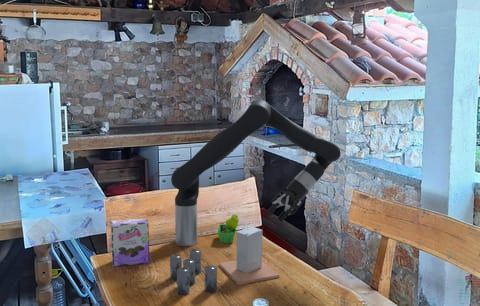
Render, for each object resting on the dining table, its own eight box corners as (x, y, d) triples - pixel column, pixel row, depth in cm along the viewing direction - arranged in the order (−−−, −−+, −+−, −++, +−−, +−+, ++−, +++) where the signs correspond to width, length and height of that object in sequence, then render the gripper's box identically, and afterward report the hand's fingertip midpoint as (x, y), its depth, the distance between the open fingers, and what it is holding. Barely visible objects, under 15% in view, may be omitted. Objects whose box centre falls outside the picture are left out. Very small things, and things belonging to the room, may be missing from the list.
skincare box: (251, 263, 181) (251, 225, 178) (262, 267, 177) (263, 229, 174) (235, 269, 175) (235, 230, 172) (247, 274, 171) (247, 234, 168)
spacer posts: (164, 274, 172) (164, 253, 171) (199, 268, 178) (198, 248, 176) (181, 298, 154) (180, 275, 153) (218, 291, 159) (218, 269, 158)
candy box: (112, 267, 178) (110, 224, 176) (112, 261, 184) (110, 220, 181) (149, 263, 182) (148, 222, 179) (148, 257, 188) (147, 217, 185)
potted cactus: (219, 235, 214) (219, 210, 212) (239, 235, 214) (239, 211, 212) (217, 244, 203) (217, 218, 201) (238, 244, 203) (238, 219, 201)
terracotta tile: (219, 265, 181) (219, 263, 181) (257, 259, 187) (257, 256, 187) (238, 285, 164) (238, 282, 164) (279, 277, 171) (279, 274, 171)
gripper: (286, 174, 187) (259, 205, 185) (305, 183, 174) (276, 216, 172) (297, 186, 190) (270, 217, 188) (317, 196, 177) (288, 228, 175)
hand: (273, 216), depth 180 cm, fingers open, 8 cm apart
